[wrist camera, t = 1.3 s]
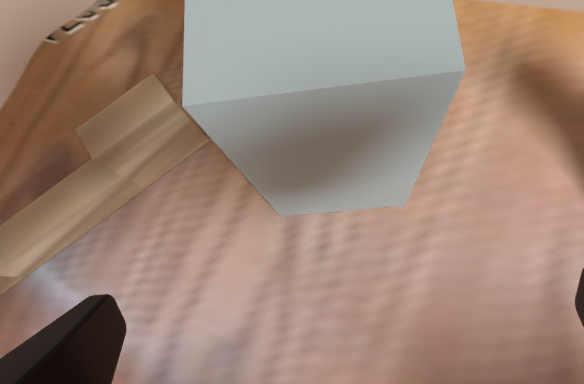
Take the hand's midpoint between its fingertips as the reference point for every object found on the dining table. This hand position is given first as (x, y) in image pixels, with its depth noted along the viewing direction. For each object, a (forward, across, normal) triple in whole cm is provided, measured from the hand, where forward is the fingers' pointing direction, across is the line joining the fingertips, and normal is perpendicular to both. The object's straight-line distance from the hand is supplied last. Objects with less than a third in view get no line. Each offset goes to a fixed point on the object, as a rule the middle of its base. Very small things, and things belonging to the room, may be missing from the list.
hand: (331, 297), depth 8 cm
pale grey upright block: (+15, 0, +4) cm, 15 cm away
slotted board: (+13, +15, +6) cm, 21 cm away
